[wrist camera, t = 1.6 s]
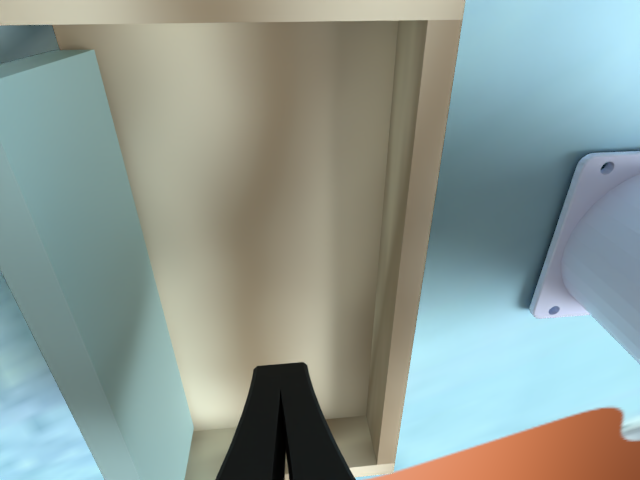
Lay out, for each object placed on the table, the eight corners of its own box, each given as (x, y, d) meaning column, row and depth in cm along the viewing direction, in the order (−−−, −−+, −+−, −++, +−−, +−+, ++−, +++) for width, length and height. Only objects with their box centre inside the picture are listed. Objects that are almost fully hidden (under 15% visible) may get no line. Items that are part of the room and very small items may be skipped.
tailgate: (93, 49, 11) (-23, 85, 7) (193, 427, 19) (171, 553, 15) (54, 49, 11) (-90, 87, 6) (171, 429, 19) (142, 556, 15)
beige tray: (418, -59, 12) (477, -81, 8) (373, 411, 23) (391, 485, 19) (53, -60, 11) (-46, -85, 8) (187, 427, 22) (172, 508, 18)
